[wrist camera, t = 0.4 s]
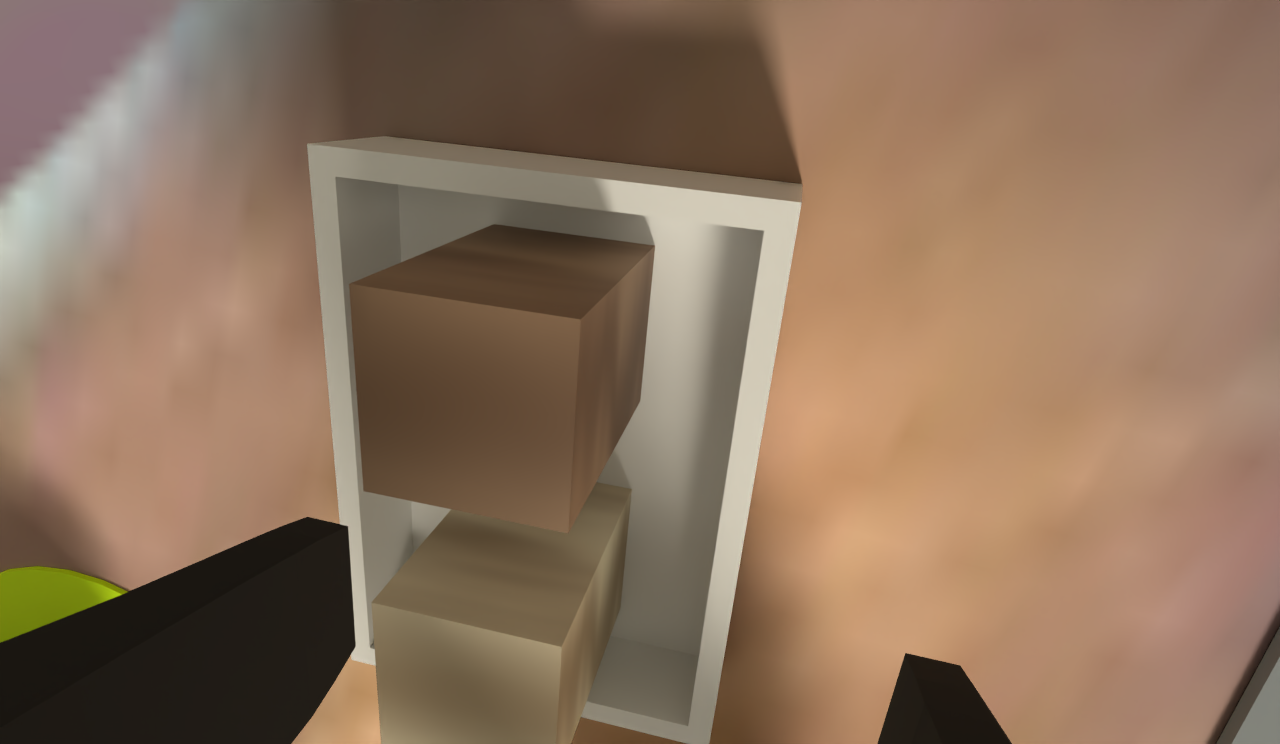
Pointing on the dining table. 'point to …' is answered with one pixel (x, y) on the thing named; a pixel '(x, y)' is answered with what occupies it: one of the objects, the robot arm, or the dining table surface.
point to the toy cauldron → (46, 597)
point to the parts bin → (670, 396)
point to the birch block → (499, 627)
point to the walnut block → (500, 370)
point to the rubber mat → (1258, 704)
